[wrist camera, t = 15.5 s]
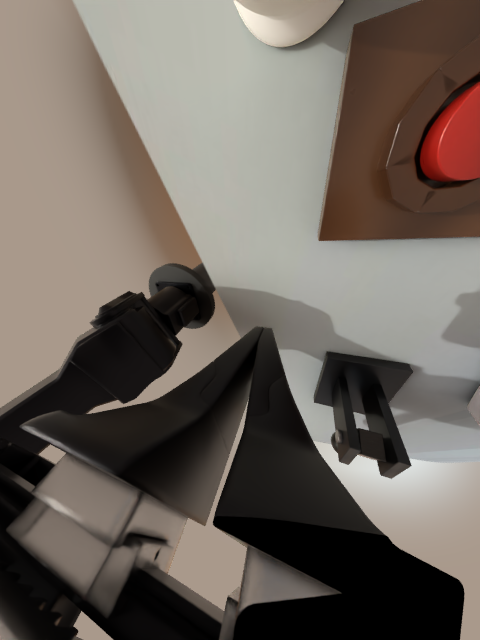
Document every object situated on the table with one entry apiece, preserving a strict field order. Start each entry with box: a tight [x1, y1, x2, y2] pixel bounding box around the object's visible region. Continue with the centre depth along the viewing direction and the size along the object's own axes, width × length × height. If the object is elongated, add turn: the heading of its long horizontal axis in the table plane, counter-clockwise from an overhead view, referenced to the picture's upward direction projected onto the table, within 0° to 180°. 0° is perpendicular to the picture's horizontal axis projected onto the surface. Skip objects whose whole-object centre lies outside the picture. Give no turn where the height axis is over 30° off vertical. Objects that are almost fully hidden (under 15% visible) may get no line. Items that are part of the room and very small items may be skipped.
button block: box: [318, 0, 480, 241], centre depth 10 cm, size 12×10×4 cm
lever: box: [331, 428, 387, 462], centre depth 23 cm, size 12×3×3 cm, turn 5°
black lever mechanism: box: [314, 352, 413, 478], centre depth 21 cm, size 11×9×10 cm
